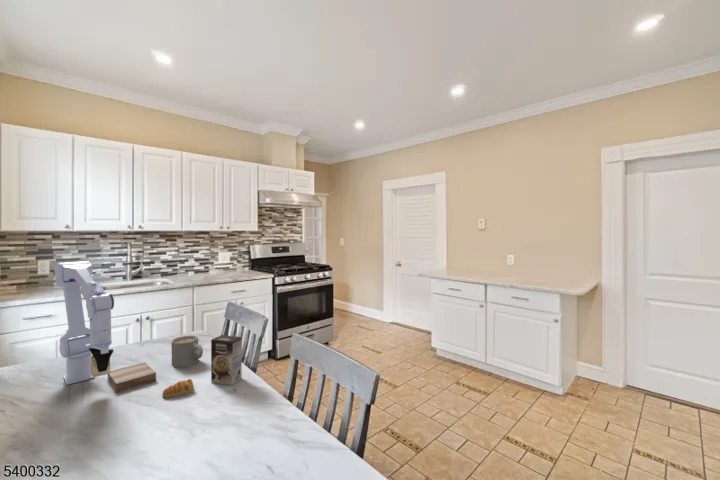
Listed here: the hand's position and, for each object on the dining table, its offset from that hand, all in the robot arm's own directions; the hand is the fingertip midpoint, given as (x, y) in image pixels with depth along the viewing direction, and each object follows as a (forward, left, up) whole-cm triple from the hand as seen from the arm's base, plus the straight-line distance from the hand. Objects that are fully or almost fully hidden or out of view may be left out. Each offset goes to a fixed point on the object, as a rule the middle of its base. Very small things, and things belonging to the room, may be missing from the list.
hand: (101, 368), depth 111 cm
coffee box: (+23, +34, -9) cm, 41 cm away
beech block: (0, 0, -2) cm, 2 cm away
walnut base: (-3, +10, -8) cm, 13 cm away
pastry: (+19, +19, -9) cm, 28 cm away
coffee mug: (-4, +30, -9) cm, 31 cm away
